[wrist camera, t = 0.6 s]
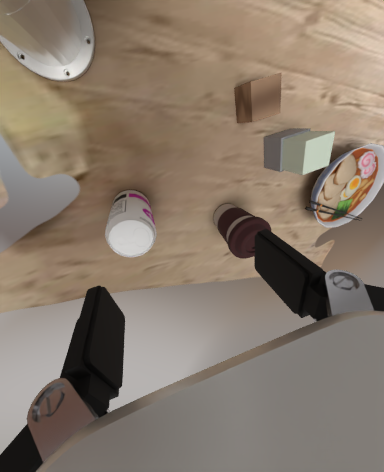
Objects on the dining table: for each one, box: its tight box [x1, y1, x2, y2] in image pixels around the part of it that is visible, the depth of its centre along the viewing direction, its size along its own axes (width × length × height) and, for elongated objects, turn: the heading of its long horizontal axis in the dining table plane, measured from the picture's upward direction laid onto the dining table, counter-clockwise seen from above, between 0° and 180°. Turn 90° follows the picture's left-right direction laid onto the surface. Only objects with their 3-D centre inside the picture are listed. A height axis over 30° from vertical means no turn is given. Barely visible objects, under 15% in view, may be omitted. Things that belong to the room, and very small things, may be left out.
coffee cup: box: [213, 204, 271, 258], centre depth 43 cm, size 10×10×15 cm
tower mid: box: [282, 131, 335, 175], centre depth 37 cm, size 6×6×6 cm
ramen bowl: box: [305, 143, 384, 227], centre depth 51 cm, size 25×23×8 cm
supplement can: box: [105, 190, 157, 257], centre depth 35 cm, size 8×8×15 cm
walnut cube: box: [234, 73, 281, 123], centre depth 35 cm, size 6×6×6 cm
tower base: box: [264, 129, 310, 172], centre depth 42 cm, size 7×7×6 cm
